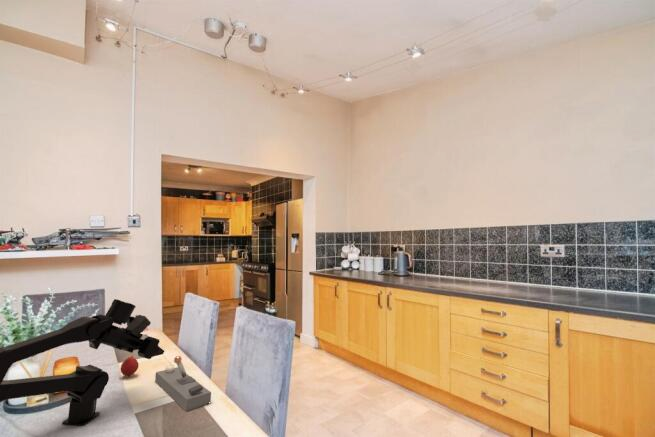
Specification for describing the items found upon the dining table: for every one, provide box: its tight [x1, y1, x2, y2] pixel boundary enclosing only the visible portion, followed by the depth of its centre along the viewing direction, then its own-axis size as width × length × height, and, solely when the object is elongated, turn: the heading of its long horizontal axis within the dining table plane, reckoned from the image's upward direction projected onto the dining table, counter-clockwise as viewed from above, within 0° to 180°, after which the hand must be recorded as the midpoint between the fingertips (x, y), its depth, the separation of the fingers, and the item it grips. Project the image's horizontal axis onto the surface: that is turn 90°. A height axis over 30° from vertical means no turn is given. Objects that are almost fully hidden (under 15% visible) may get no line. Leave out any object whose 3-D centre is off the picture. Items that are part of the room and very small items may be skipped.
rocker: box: [189, 383, 204, 395], centre depth 107 cm, size 4×2×1 cm, turn 136°
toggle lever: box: [173, 355, 188, 378], centre depth 115 cm, size 2×2×8 cm
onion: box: [120, 354, 139, 378], centre depth 125 cm, size 6×6×8 cm
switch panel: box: [154, 366, 212, 412], centre depth 115 cm, size 8×28×4 cm, turn 46°
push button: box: [164, 364, 175, 373], centre depth 123 cm, size 3×3×2 cm
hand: (155, 349), depth 114 cm, fingers open, 9 cm apart
